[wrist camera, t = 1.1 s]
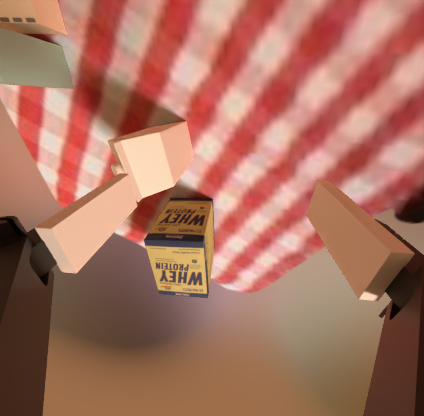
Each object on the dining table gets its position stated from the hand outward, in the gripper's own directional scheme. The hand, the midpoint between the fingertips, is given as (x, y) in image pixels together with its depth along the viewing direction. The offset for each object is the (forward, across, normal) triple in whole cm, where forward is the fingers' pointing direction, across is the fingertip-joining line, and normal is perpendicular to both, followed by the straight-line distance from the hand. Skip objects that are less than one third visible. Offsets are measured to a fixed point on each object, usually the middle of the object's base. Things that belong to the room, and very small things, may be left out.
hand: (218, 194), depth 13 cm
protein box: (+26, -8, -22) cm, 35 cm away
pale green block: (+26, -31, +11) cm, 42 cm away
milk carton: (+26, -11, -2) cm, 28 cm away
